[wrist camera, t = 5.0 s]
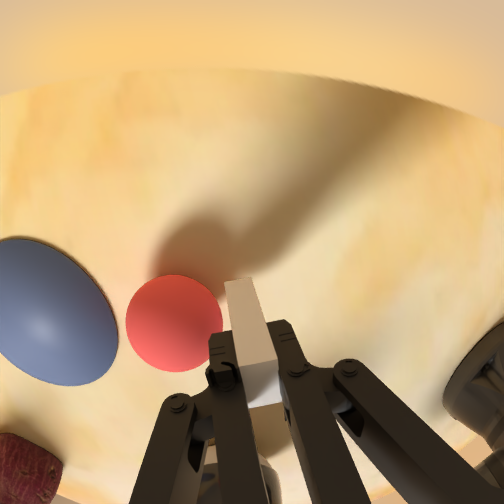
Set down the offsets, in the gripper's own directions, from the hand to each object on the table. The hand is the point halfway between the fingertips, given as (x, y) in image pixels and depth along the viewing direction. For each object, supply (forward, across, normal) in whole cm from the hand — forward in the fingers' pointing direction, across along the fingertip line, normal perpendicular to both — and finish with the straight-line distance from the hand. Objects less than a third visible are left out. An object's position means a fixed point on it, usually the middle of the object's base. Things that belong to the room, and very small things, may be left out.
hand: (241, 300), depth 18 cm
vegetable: (+3, +31, +21) cm, 37 cm away
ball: (0, +4, 0) cm, 4 cm away
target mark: (+2, +15, +1) cm, 15 cm away
